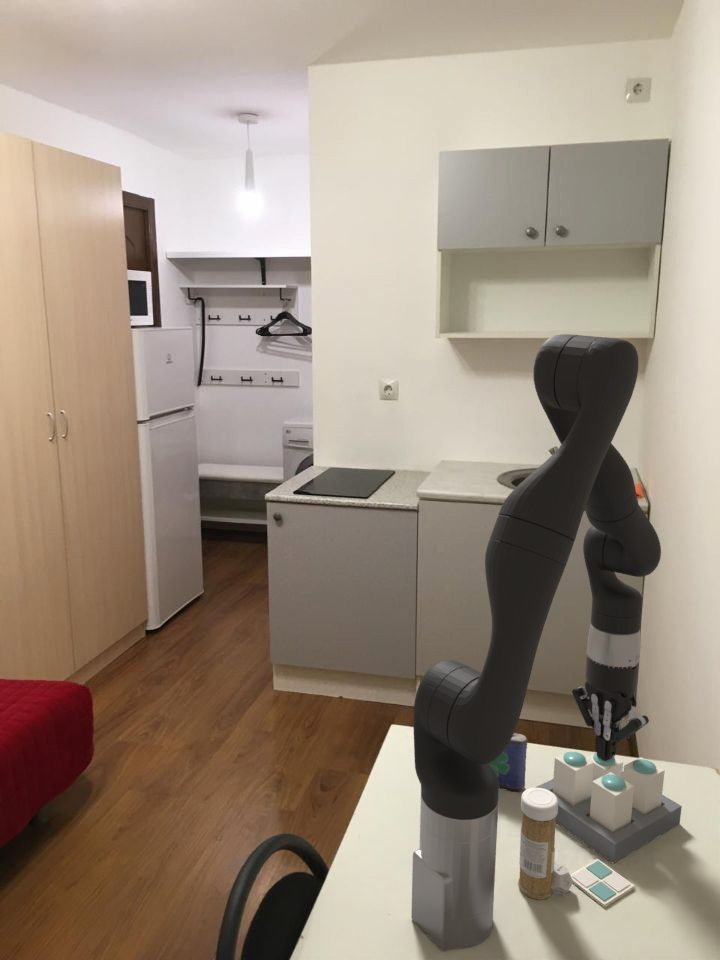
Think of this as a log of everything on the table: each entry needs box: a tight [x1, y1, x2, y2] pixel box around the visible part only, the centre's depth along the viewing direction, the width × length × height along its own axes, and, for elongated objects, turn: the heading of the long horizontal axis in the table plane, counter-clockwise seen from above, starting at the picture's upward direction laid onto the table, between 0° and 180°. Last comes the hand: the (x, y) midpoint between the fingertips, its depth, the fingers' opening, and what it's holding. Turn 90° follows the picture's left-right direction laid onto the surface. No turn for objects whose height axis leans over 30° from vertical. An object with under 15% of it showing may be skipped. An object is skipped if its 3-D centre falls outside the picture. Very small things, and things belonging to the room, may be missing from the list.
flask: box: [489, 732, 528, 793], centre depth 121 cm, size 9×3×11 cm, turn 61°
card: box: [570, 858, 635, 908], centre depth 100 cm, size 6×6×1 cm
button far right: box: [623, 756, 665, 815], centre depth 112 cm, size 4×4×6 cm
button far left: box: [585, 751, 624, 781], centre depth 118 cm, size 4×4×6 cm
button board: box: [534, 770, 682, 864], centre depth 114 cm, size 15×15×3 cm
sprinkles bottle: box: [517, 787, 558, 900], centre depth 98 cm, size 5×5×13 cm
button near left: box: [552, 749, 594, 807], centre depth 114 cm, size 4×4×6 cm
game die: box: [551, 862, 574, 896], centre depth 99 cm, size 4×4×3 cm
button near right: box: [590, 772, 634, 833], centre depth 108 cm, size 4×4×6 cm
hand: (605, 757), depth 118 cm, fingers closed
